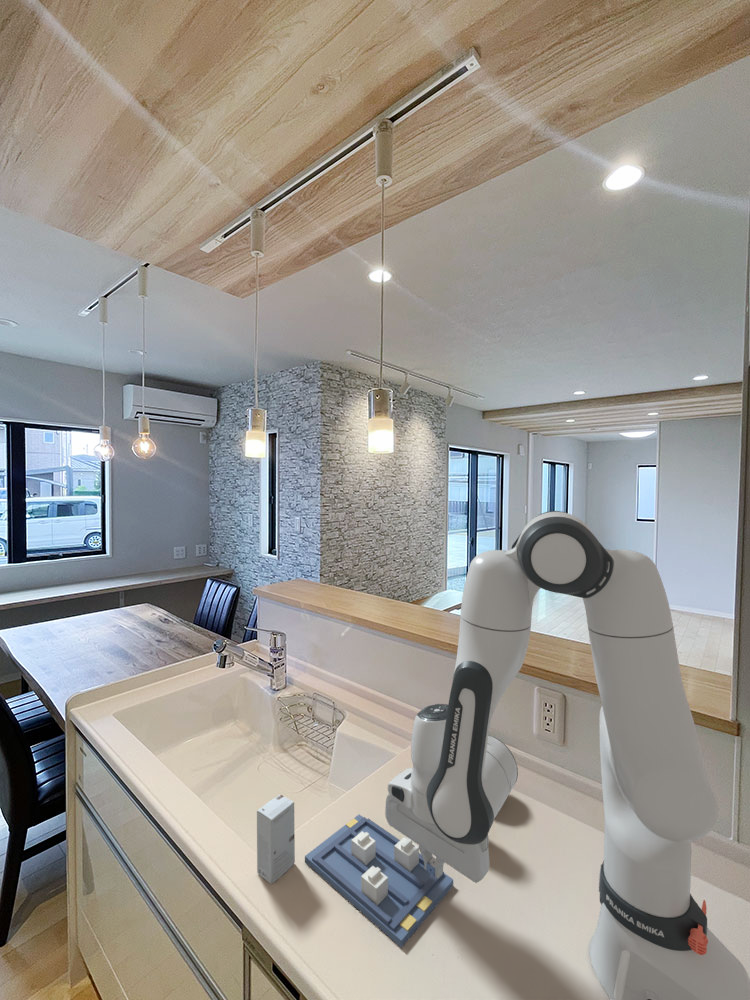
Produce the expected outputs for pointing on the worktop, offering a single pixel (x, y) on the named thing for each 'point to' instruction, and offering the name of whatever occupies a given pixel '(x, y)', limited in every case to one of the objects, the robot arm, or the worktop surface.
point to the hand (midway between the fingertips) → (433, 871)
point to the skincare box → (275, 838)
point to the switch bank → (406, 890)
